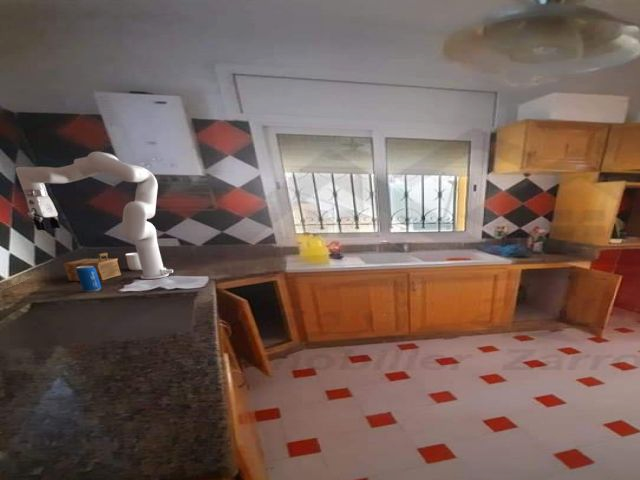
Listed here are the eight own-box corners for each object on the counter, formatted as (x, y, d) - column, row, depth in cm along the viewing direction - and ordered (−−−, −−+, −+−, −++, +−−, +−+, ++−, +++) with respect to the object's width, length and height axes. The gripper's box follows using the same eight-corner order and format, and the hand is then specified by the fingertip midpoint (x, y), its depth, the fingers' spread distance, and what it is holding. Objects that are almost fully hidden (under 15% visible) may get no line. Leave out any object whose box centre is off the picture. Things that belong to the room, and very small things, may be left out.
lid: (118, 259, 183) (115, 251, 181) (99, 264, 171) (96, 255, 169) (85, 260, 181) (82, 251, 179) (63, 265, 169) (60, 255, 167)
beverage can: (90, 292, 152) (81, 268, 149) (79, 291, 154) (71, 267, 150) (105, 288, 158) (97, 265, 155) (95, 288, 160) (87, 264, 156)
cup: (126, 269, 198) (121, 254, 194) (145, 266, 206) (141, 251, 203) (133, 271, 193) (129, 255, 190) (152, 268, 202) (148, 252, 199)
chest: (121, 274, 185) (116, 260, 182) (102, 280, 173) (97, 264, 171) (90, 275, 184) (85, 260, 181) (69, 280, 172) (63, 265, 169)
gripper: (32, 194, 149) (45, 230, 154) (59, 193, 165) (70, 227, 170) (10, 194, 147) (25, 231, 152) (40, 193, 162) (52, 227, 168)
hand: (49, 229), depth 161 cm, fingers open, 9 cm apart
